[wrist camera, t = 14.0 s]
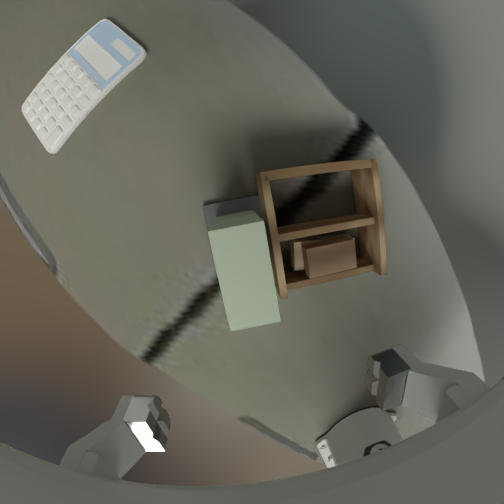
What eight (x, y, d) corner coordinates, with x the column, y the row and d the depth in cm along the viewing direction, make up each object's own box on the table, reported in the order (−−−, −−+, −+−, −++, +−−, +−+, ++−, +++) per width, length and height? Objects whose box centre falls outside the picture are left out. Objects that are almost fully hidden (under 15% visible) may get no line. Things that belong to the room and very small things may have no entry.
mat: (274, 285, 36) (275, 286, 36) (222, 295, 36) (222, 296, 35) (259, 195, 33) (259, 195, 33) (203, 205, 33) (202, 205, 33)
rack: (365, 261, 36) (386, 274, 31) (273, 282, 36) (281, 299, 30) (354, 162, 33) (376, 158, 27) (254, 175, 33) (259, 172, 27)
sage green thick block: (252, 209, 33) (263, 220, 22) (264, 278, 35) (280, 321, 24) (216, 216, 33) (208, 231, 21) (230, 285, 35) (230, 331, 23)
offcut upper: (348, 262, 33) (356, 267, 31) (304, 272, 33) (310, 278, 31) (346, 235, 33) (354, 239, 30) (300, 244, 32) (306, 249, 30)
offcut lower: (345, 258, 36) (354, 264, 34) (289, 264, 36) (294, 270, 33) (345, 234, 36) (354, 237, 33) (288, 238, 35) (293, 242, 32)
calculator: (24, 110, 27) (18, 108, 25) (108, 20, 25) (104, 14, 23) (55, 157, 30) (48, 156, 28) (151, 56, 28) (148, 50, 26)
